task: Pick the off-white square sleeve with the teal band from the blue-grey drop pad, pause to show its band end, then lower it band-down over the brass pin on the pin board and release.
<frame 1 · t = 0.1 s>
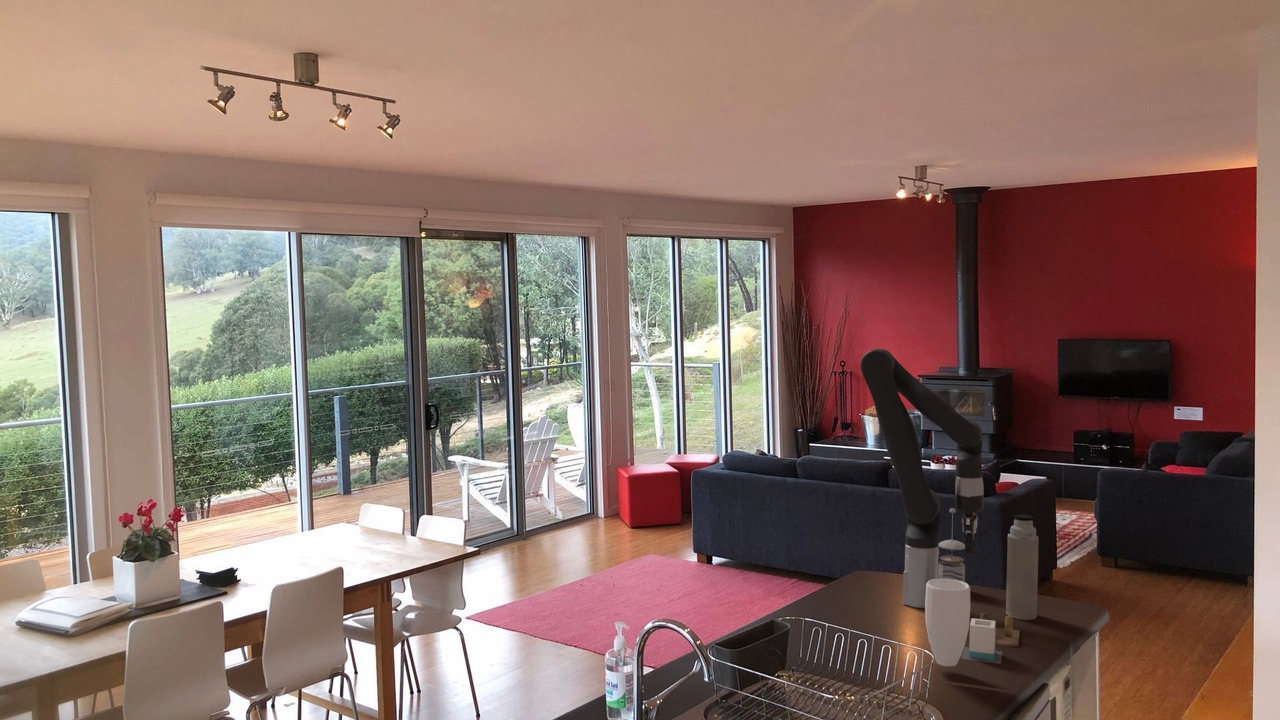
hand: (970, 549, 277), 17 cm above the counter, tool pointing down, fingers open, 8 cm apart
pin board: (996, 639, 254), on the counter
cup: (946, 675, 230), on the counter
sleeve: (982, 655, 241), point 1 cm above the counter, touching drop pad
drop pad: (982, 657, 241), on the counter
thermos bottle: (1021, 616, 273), on the counter
french press: (948, 590, 297), on the counter
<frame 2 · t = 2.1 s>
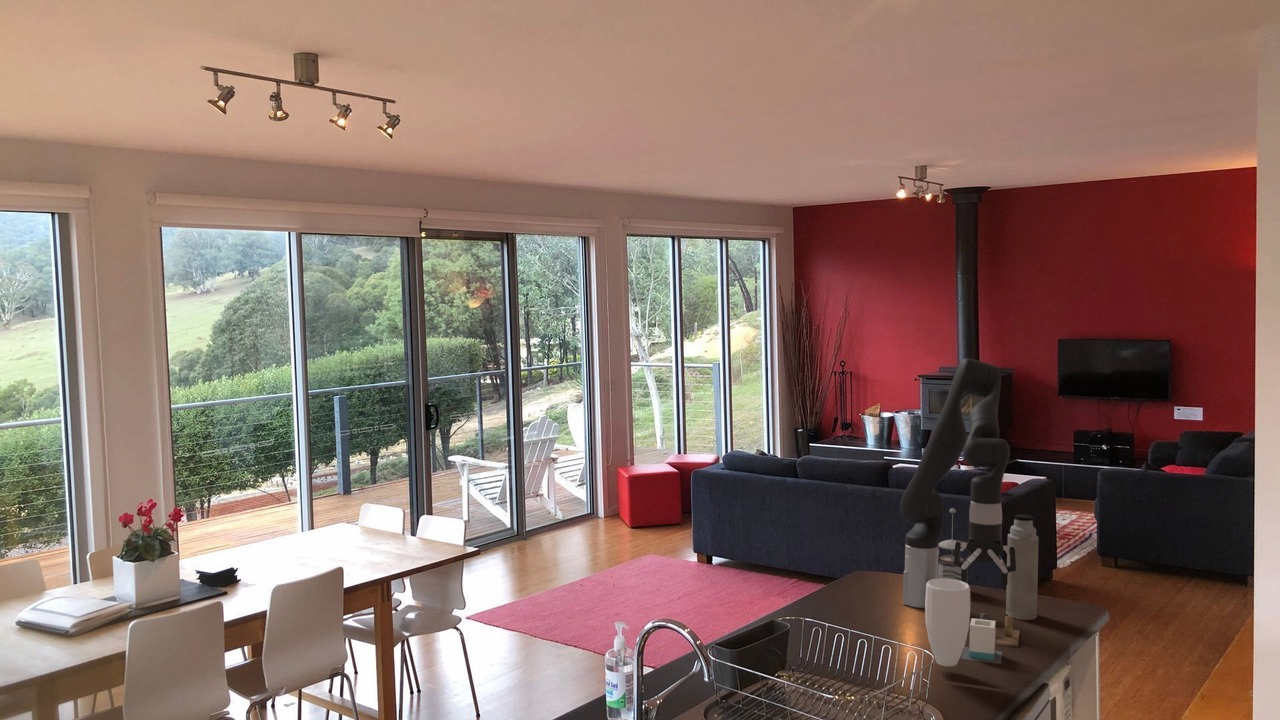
hand: (984, 585, 240), 18 cm above the counter, tool pointing down, fingers open, 8 cm apart
nothing on the counter moved.
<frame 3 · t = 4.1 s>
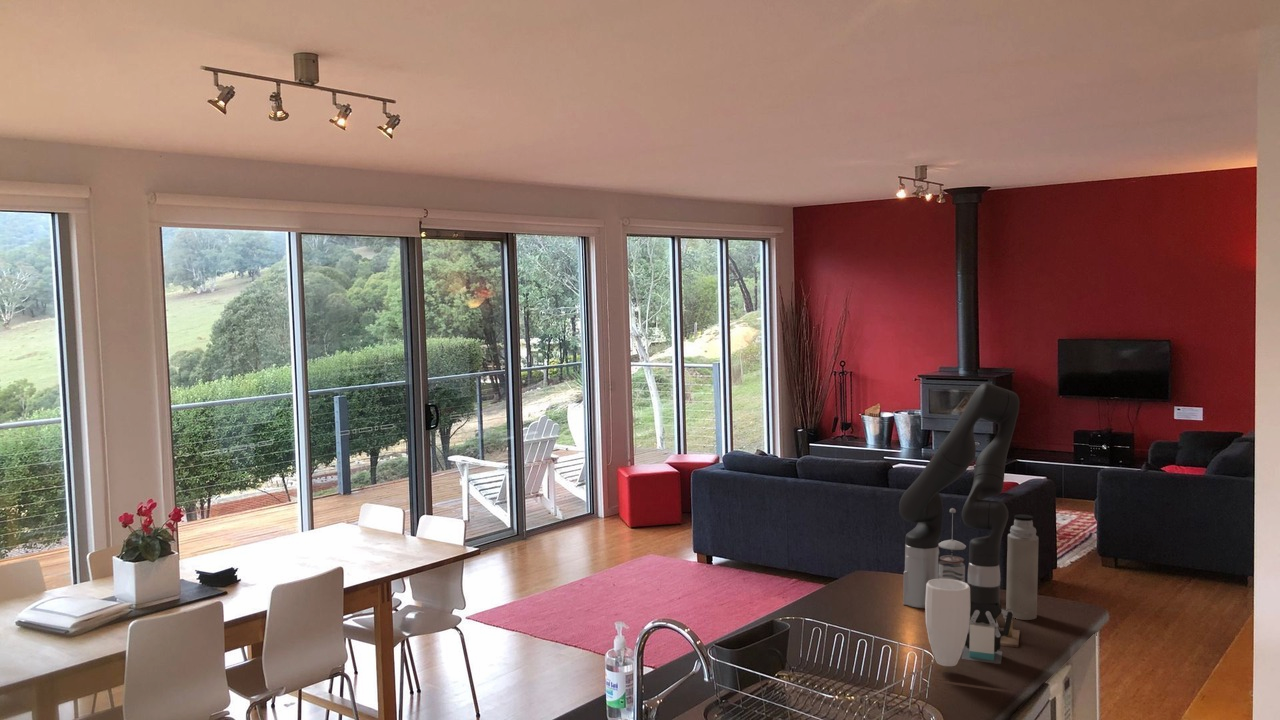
hand: (982, 648, 241), 2 cm above the counter, tool pointing down, fingers closed on sleeve, 5 cm apart
sleeve: (982, 655, 241), point 1 cm above the counter, touching drop pad, gripper
everything else where it was.
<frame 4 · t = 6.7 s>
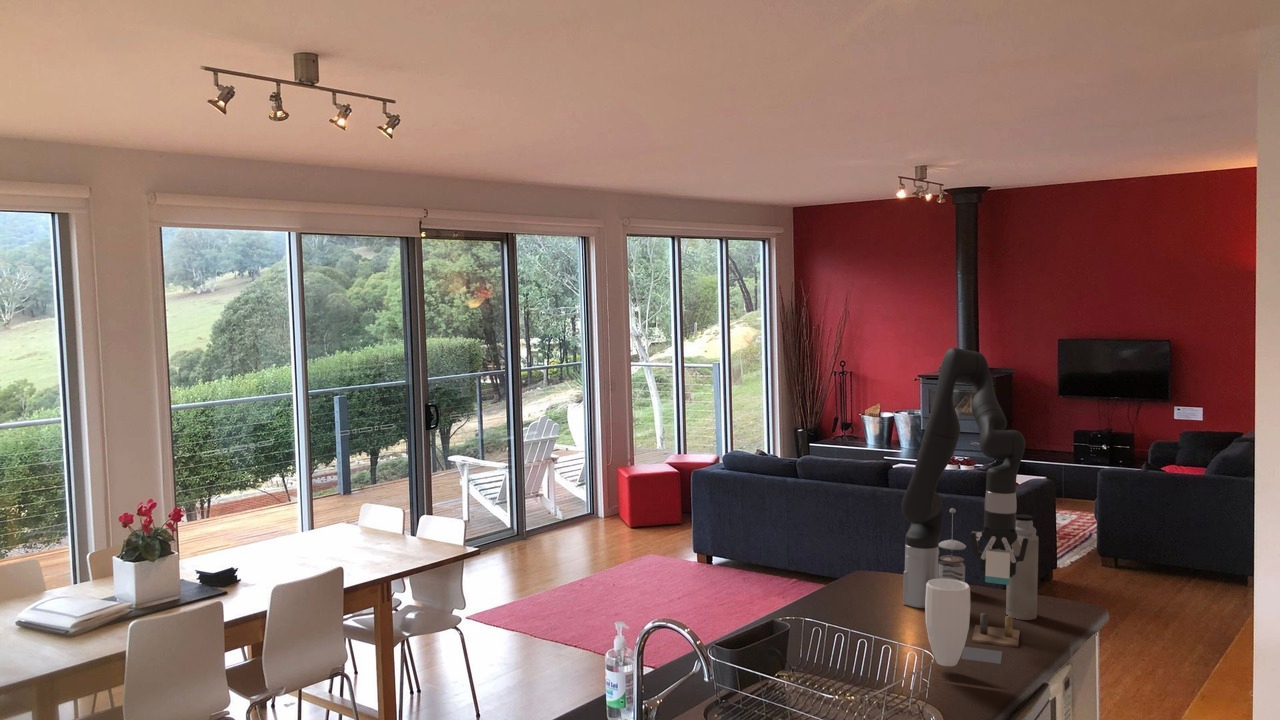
hand: (998, 574, 248), 18 cm above the counter, tool pointing down, fingers closed on sleeve, 5 cm apart
sleeve: (997, 580, 249), point 17 cm above the counter, touching gripper
everything else where it was.
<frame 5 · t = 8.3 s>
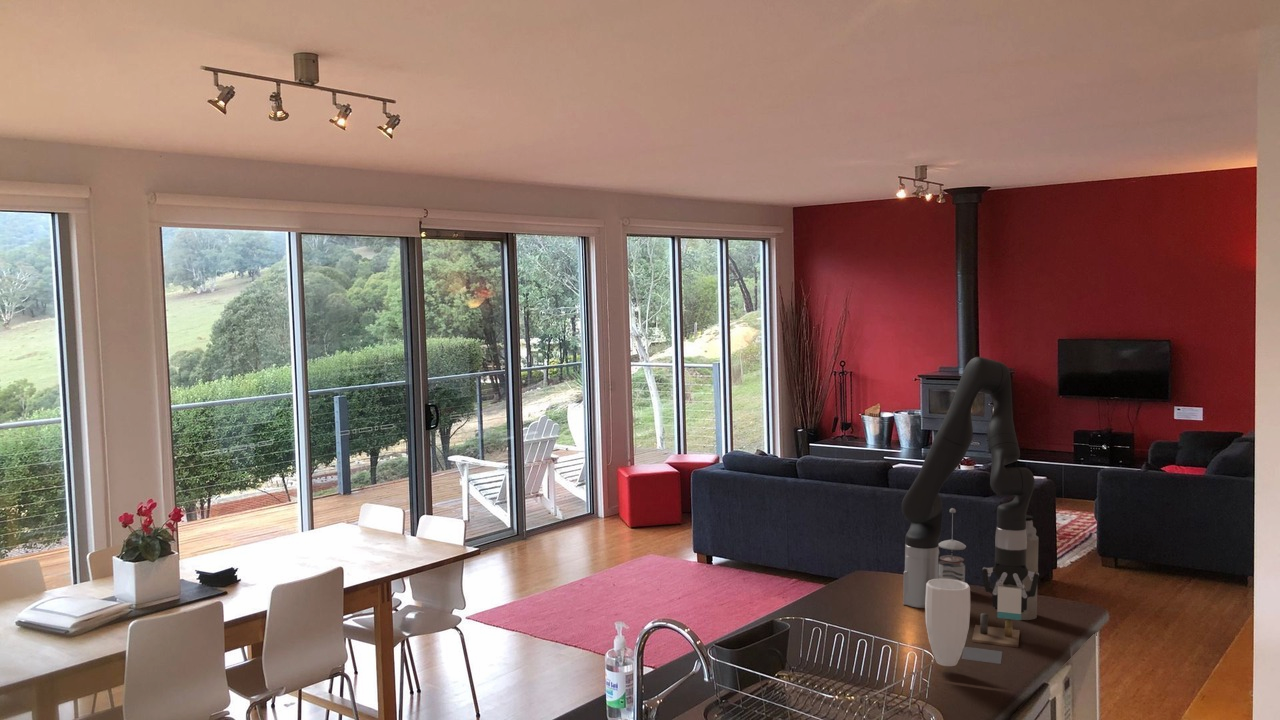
hand: (1009, 609, 252), 8 cm above the counter, tool pointing down, fingers closed on sleeve, 5 cm apart
sleeve: (1009, 615, 252), point 7 cm above the counter, touching gripper
everything else where it was.
when the fingers open (4 cm above the counter, at t = 9.5 s): sleeve drops 1 cm, resting on pin board.
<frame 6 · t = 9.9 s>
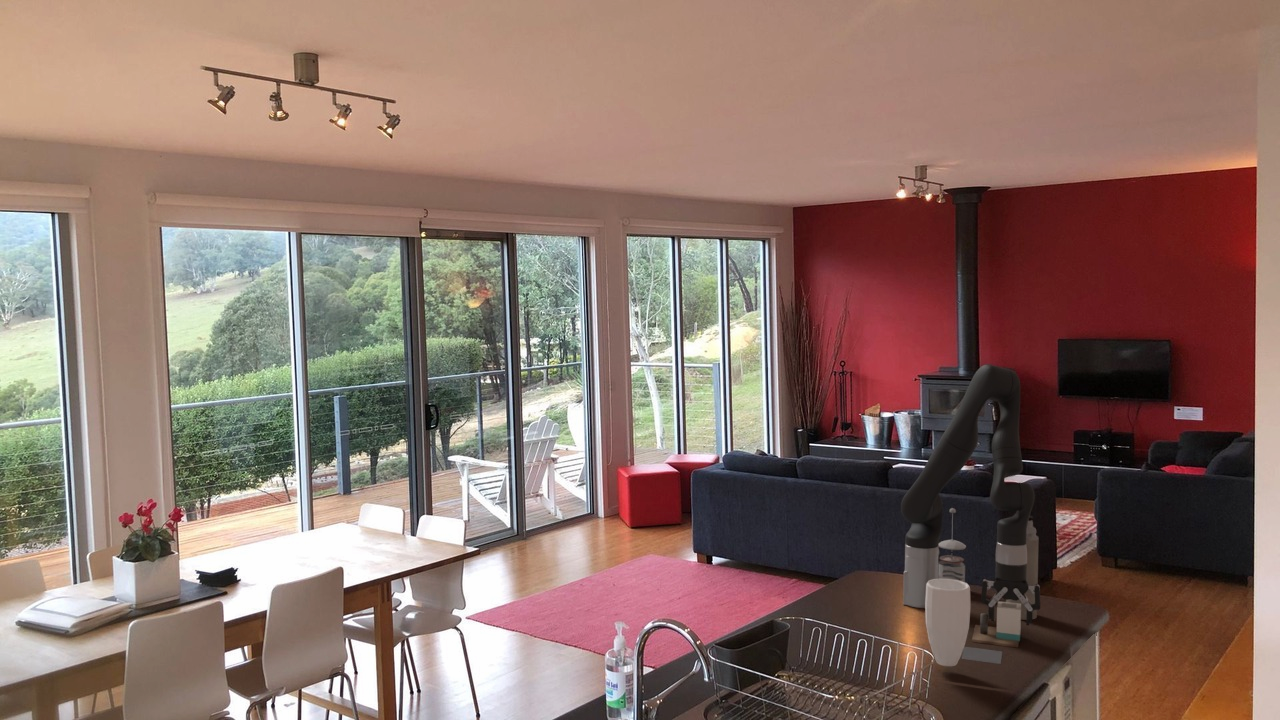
hand: (1010, 622, 252), 5 cm above the counter, tool pointing down, fingers open, 8 cm apart
sleeve: (1008, 636, 253), point 1 cm above the counter, touching pin board
everything else where it was.
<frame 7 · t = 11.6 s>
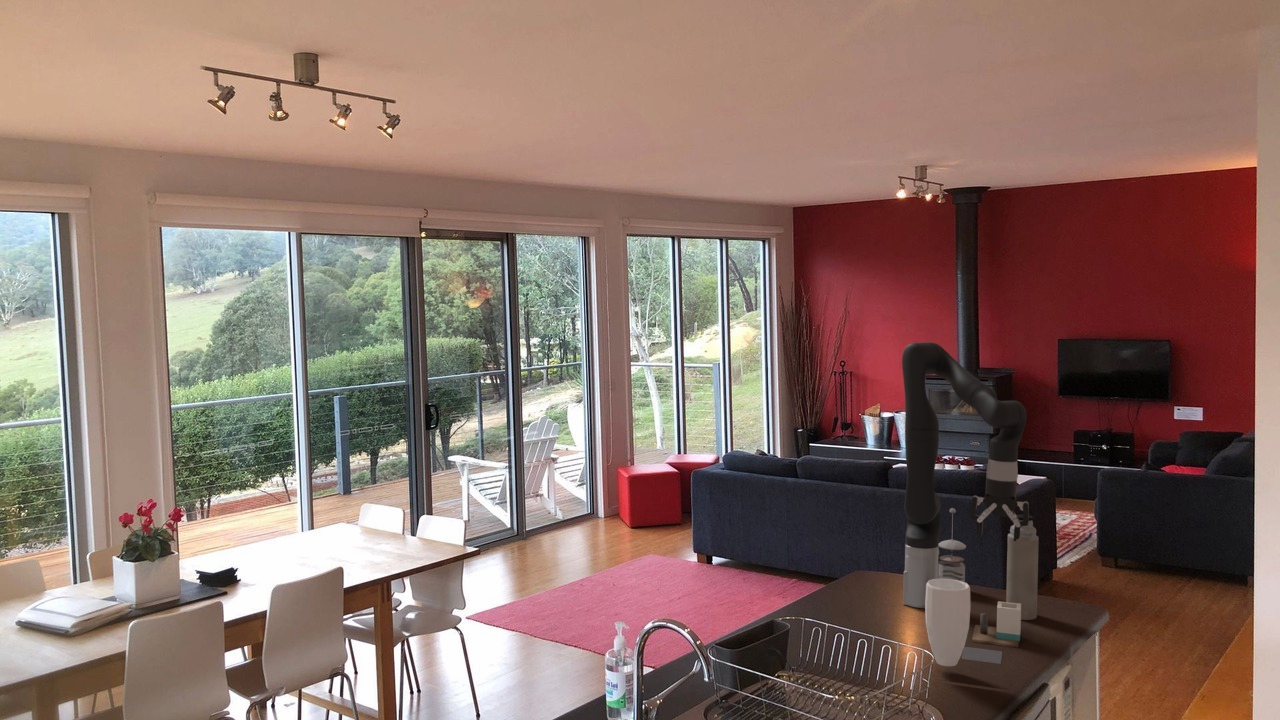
hand: (997, 538, 257), 25 cm above the counter, tool pointing down, fingers open, 8 cm apart
nothing on the counter moved.
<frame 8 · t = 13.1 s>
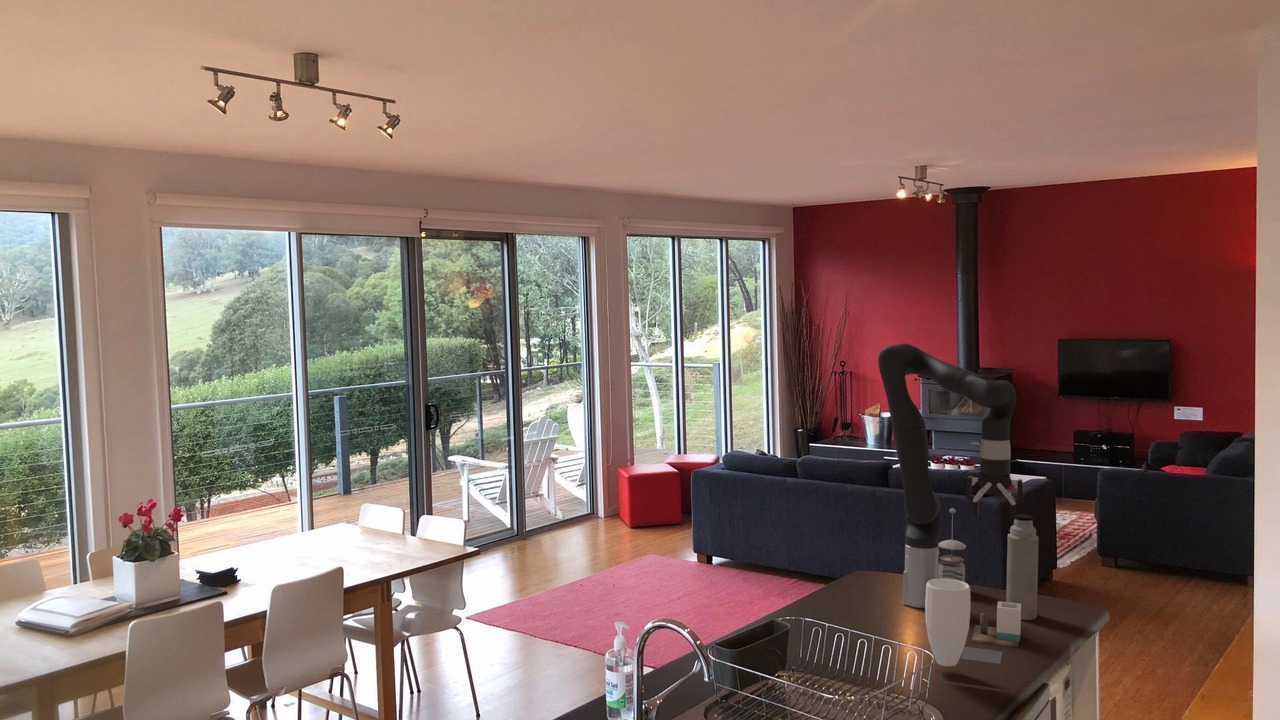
hand: (993, 517, 260), 30 cm above the counter, tool pointing down, fingers open, 8 cm apart
nothing on the counter moved.
at the end: sleeve 0.0 cm from the target spot on the pin board, point 1.2 cm above the pin board's base; sleeve tilted 0°; the gripper is holding nothing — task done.
